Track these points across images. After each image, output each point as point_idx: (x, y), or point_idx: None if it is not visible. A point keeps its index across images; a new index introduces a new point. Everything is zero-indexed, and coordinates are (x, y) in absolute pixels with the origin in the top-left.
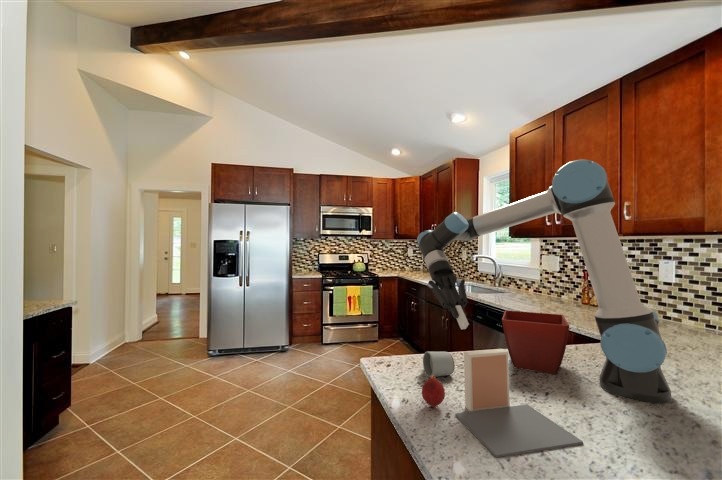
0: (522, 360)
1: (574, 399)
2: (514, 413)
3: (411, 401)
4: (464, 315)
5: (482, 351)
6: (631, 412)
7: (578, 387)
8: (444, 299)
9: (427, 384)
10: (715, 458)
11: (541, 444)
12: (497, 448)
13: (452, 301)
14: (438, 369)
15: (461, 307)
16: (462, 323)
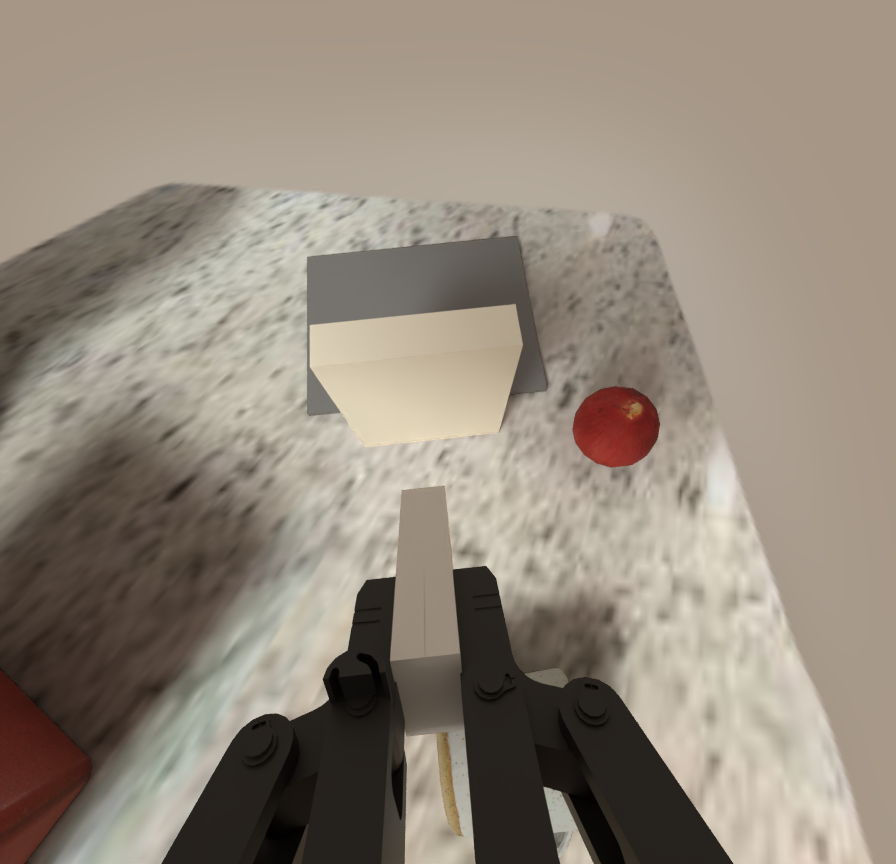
0: (37, 741)
1: (130, 440)
2: None
3: (666, 486)
4: (404, 547)
5: (429, 339)
6: (57, 358)
7: (26, 521)
8: (644, 772)
9: (650, 403)
10: (109, 209)
11: (402, 256)
12: (503, 252)
13: (493, 736)
14: (532, 672)
15: (392, 628)
16: (447, 514)
